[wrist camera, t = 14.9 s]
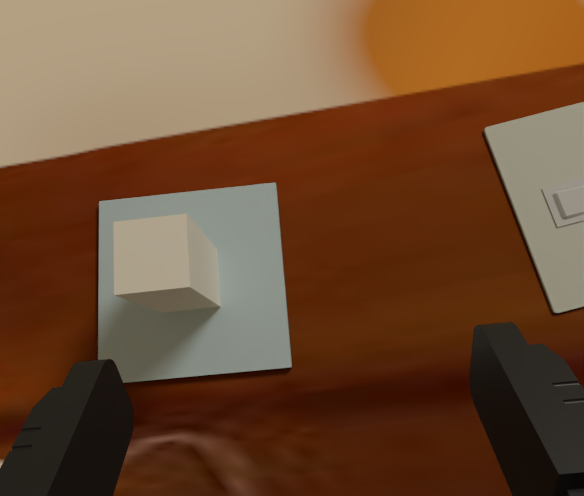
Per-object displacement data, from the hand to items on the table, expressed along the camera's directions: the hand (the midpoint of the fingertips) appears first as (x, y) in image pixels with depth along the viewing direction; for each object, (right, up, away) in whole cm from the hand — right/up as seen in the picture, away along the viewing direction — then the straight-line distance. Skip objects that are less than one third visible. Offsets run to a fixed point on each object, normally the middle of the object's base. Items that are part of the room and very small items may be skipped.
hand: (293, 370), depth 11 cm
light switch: (+24, +7, +32) cm, 41 cm away
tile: (-9, 0, +32) cm, 33 cm away
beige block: (-9, 0, +31) cm, 33 cm away
